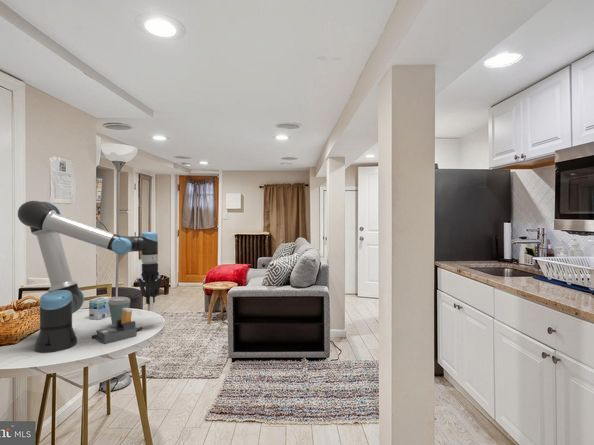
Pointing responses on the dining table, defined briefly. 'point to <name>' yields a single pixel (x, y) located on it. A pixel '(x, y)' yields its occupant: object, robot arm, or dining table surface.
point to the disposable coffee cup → (117, 307)
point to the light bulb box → (99, 308)
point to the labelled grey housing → (117, 332)
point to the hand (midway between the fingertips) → (150, 310)
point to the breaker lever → (126, 315)
